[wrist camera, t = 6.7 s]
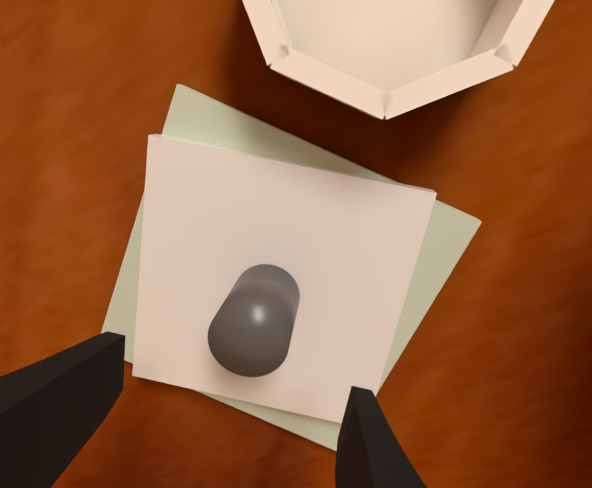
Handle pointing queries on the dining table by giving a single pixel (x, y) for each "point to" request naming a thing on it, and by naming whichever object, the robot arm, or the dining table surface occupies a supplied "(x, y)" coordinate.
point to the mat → (280, 144)
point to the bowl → (393, 46)
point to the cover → (271, 275)
